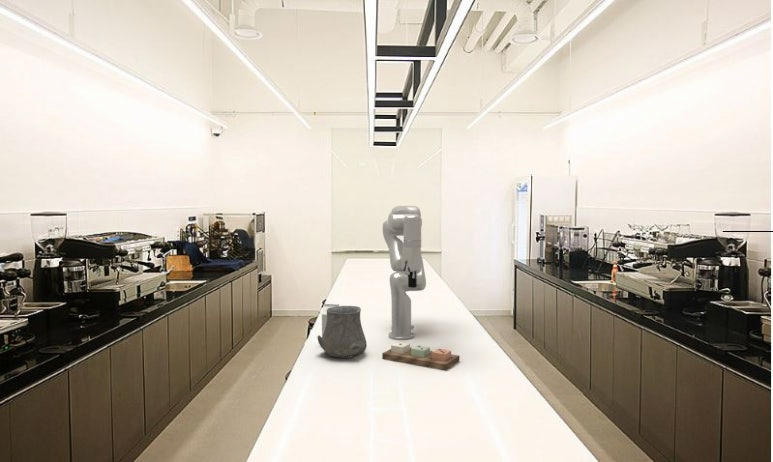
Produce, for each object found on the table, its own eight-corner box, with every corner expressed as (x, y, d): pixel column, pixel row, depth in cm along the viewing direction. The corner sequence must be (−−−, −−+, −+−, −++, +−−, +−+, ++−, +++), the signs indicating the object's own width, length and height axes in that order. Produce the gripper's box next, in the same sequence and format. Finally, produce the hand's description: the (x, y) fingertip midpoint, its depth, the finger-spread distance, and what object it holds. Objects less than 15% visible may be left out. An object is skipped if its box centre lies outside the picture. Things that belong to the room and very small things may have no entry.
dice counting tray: (382, 359, 210) (382, 353, 210) (398, 351, 221) (398, 345, 221) (446, 370, 195) (446, 364, 195) (459, 361, 206) (459, 355, 206)
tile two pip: (411, 359, 207) (411, 348, 207) (417, 355, 212) (417, 344, 212) (423, 361, 204) (423, 350, 204) (430, 358, 209) (430, 346, 209)
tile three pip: (431, 363, 202) (431, 351, 202) (438, 359, 207) (438, 348, 207) (445, 365, 199) (445, 353, 199) (451, 361, 204) (451, 350, 204)
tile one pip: (391, 356, 212) (391, 344, 212) (398, 352, 217) (398, 341, 217) (403, 358, 209) (403, 346, 209) (409, 354, 214) (409, 343, 214)
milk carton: (337, 347, 227) (336, 306, 225) (322, 347, 228) (321, 305, 227) (341, 343, 234) (341, 302, 232) (327, 342, 235) (326, 302, 234)
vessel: (330, 366, 201) (330, 316, 200) (312, 352, 221) (311, 306, 219) (379, 358, 211) (379, 311, 210) (357, 345, 231) (357, 301, 229)
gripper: (412, 242, 222) (413, 283, 224) (395, 245, 210) (396, 289, 211) (428, 243, 219) (428, 285, 220) (411, 246, 206) (411, 290, 207)
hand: (412, 287), depth 215 cm, fingers closed
